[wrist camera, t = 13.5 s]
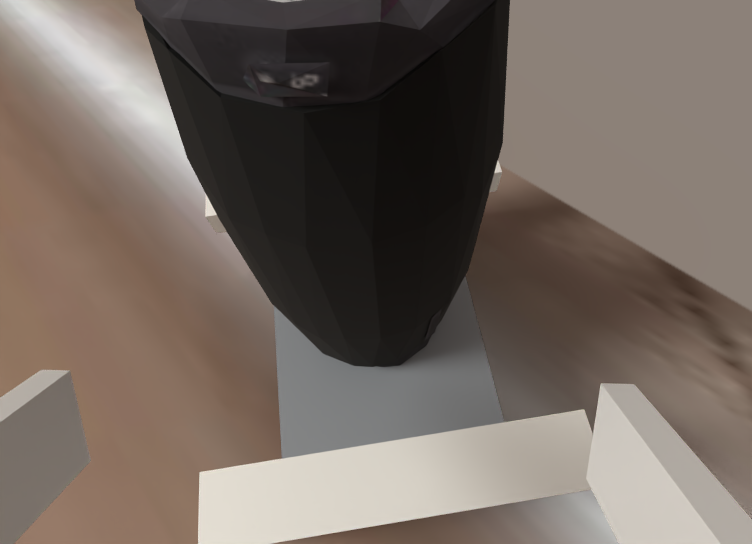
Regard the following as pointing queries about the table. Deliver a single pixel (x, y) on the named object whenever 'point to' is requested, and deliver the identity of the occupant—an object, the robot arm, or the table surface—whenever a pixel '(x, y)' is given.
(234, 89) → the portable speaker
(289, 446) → the square spool
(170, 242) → the table surface
